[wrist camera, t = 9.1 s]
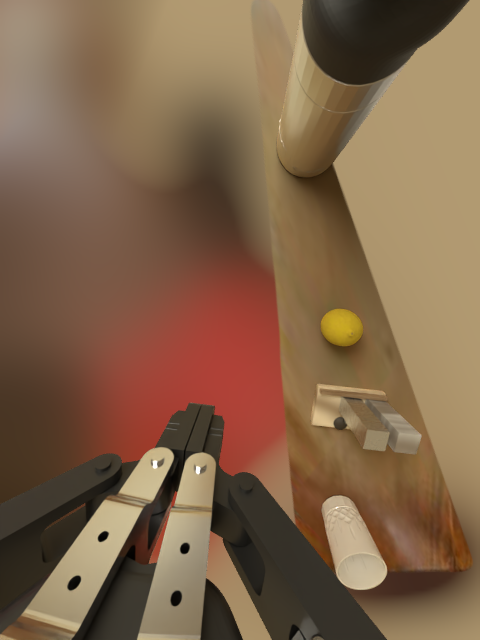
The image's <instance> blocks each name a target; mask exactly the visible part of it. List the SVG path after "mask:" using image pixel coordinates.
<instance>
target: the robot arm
mask: <svg viewBox="0 0 480 640" xmlns="http://www.w3.org/2000/svg"><path fill="white" fill-rule="evenodd" d="M468 1H469V0H303V6H302V11H301V16H300V22H299V27H298V32H297V38H296V42H295V49H294V54H293V59H292V64H291V69H290V74H289V79H288V84H287V90H286V95H285V100H284V105H283V110H282V115H281V120H280V125H279V130H278V135H277V143H276V144H277V153H278V157H279V159H280V161H281V163H282V165H283V166H284V167H285V169H286V170H288V171H289V172H290V173H291V174H293V175H296V176H299V177H303V178H304V177H313V176H317V175H319V174H321V173H323V172H324V171H325V170H326V169H328V168H329V167H330V165H331V164H332V163H333V162H334V160H335V159H336V158H337V156H338V155H339V154H340V152H341V151H342V150H343V149H344V147H345V146H346V144H347V143H348V142H349V140H350V139H351V138H352V136H353V135H354V134H355V132H356V131H357V129H358V128H359V127H360V125H361V124H362V123H363V121H364V120H365V119H366V117H367V116H368V115H369V113H370V112H371V111H372V109H373V108H374V106H375V105H376V104H377V102H378V101H379V100H380V98H381V97H382V96H383V94H384V93H385V92H386V90H387V88H388V87H389V86H390V85H391V83H392V82H393V80H394V79H395V78H396V76H397V75H398V74H399V72H400V71H401V70H402V68H403V67H404V65H405V64H406V63H407V61H408V60H409V59H410V57H411V56H412V55H413V54H414V52H415V51H416V50H417V48H419V47H420V46H422V45H423V44H425V43H427V42H428V41H429V40H431V39H432V38H433V37H435V36H436V35H437V34H438V33H439V32H441V31H442V30H443V29H444V28H445V27H446V26H447V25H448V24H449V23H450V22H451V21H452V20H453V19H454V17H455V16H456V15H457V14H458V13H459V12H460V11H461V9H462V8H463V7H464V6H465V5H466V4H467V3H468ZM214 410H215V406H212V405H203V404H195V403H189V404H188V407H187V409H186V411H177V412H176V413H175V414H174V415H172V417H171V419H170V421H169V423H168V424H167V426H166V429H165V430H164V432H163V434H162V435H161V437H160V439H159V441H158V443H157V445H156V447H155V448H154V449H151V450H150V451H148V452H147V453H146V454H145V455H144V456H143V458H142V459H141V460H138V461H133V462H126V463H122V460H121V458H120V457H119V456H118V455H116V454H103V455H100V456H98V457H96V458H94V459H92V460H90V461H88V462H86V463H84V464H82V465H79V466H78V467H75V468H74V469H71V470H69V471H67V472H65V473H63V474H61V475H59V476H57V477H55V478H53V479H51V480H49V481H47V482H45V483H43V484H41V485H39V486H37V487H35V488H33V489H31V490H29V491H27V492H24V493H22V494H21V495H18V496H16V497H14V498H12V499H10V500H8V501H6V502H4V503H2V504H0V640H243V639H242V636H241V634H240V631H239V629H238V626H237V624H236V621H235V619H234V616H233V614H232V611H231V609H230V607H229V605H228V603H227V601H226V599H225V598H224V596H223V595H222V593H221V592H220V590H219V589H218V588H217V587H216V586H215V585H214V584H213V583H212V582H211V581H209V580H208V579H207V578H206V571H207V560H208V549H209V537H210V531H212V532H213V533H215V534H217V535H219V536H221V537H222V538H223V543H224V546H225V548H226V550H227V552H228V554H229V556H230V558H231V560H232V562H233V564H234V566H235V568H236V570H237V572H238V574H239V576H240V578H241V580H242V581H243V583H244V585H245V587H246V589H247V591H248V593H249V595H250V597H251V599H252V601H253V603H254V605H255V607H256V609H257V611H258V613H259V615H260V617H261V619H262V621H263V623H264V625H265V626H266V629H267V631H268V632H269V634H270V636H271V638H272V640H387V639H386V638H385V637H384V635H383V634H382V633H381V632H380V630H379V629H378V628H377V627H376V625H375V624H374V623H373V622H372V620H371V619H370V618H369V617H368V615H367V614H366V613H365V612H364V610H363V609H362V608H361V607H360V605H359V604H358V603H357V602H356V600H355V599H354V598H353V597H352V596H351V594H350V593H349V592H348V590H347V589H346V588H345V587H344V585H343V584H342V583H341V582H340V580H339V579H338V578H337V577H336V575H335V574H334V573H333V572H332V570H331V569H330V568H329V567H328V565H327V564H326V563H325V562H324V560H323V559H322V558H321V557H320V556H319V554H318V553H317V552H316V551H315V549H314V548H313V547H312V546H311V544H310V543H309V542H308V541H307V539H306V538H305V537H304V536H303V534H302V533H301V532H300V531H299V529H298V528H297V527H296V526H295V524H294V523H293V522H292V521H291V519H290V518H289V517H288V516H287V514H286V513H285V512H284V511H283V509H282V508H281V507H280V506H279V505H278V503H277V502H276V501H275V499H274V498H273V497H272V496H271V494H270V493H269V492H268V491H267V489H266V488H265V487H264V486H263V484H262V483H261V482H260V481H259V479H258V478H257V477H255V476H254V475H252V474H250V473H247V472H242V473H238V474H236V475H234V476H231V475H229V474H227V473H225V472H224V471H223V470H222V469H221V468H220V466H219V458H220V452H221V447H222V439H223V429H224V420H223V418H222V416H218V415H214ZM175 491H176V492H178V493H177V498H176V502H175V505H174V506H173V507H172V509H171V502H172V499H173V496H174V493H175ZM84 503H85V506H84V507H82V508H80V509H79V510H77V511H76V512H74V513H72V514H71V515H69V516H67V517H66V518H65V519H62V520H61V521H59V522H58V523H56V524H54V525H53V526H51V527H49V528H48V529H46V530H45V528H46V527H47V526H49V525H50V524H51V523H52V522H54V521H56V520H57V519H59V518H61V517H63V516H64V515H66V514H67V513H69V512H71V511H72V510H74V509H76V508H77V507H79V506H81V505H82V504H84ZM170 509H171V512H170V515H169V519H168V523H167V527H166V531H165V534H164V538H163V542H162V546H161V550H160V554H159V558H158V561H157V563H152V564H149V560H150V558H151V555H152V552H153V550H154V548H155V545H156V543H157V540H158V538H159V535H160V533H161V531H162V528H163V526H164V523H165V521H166V518H167V516H168V514H169V511H170Z"/></svg>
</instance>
